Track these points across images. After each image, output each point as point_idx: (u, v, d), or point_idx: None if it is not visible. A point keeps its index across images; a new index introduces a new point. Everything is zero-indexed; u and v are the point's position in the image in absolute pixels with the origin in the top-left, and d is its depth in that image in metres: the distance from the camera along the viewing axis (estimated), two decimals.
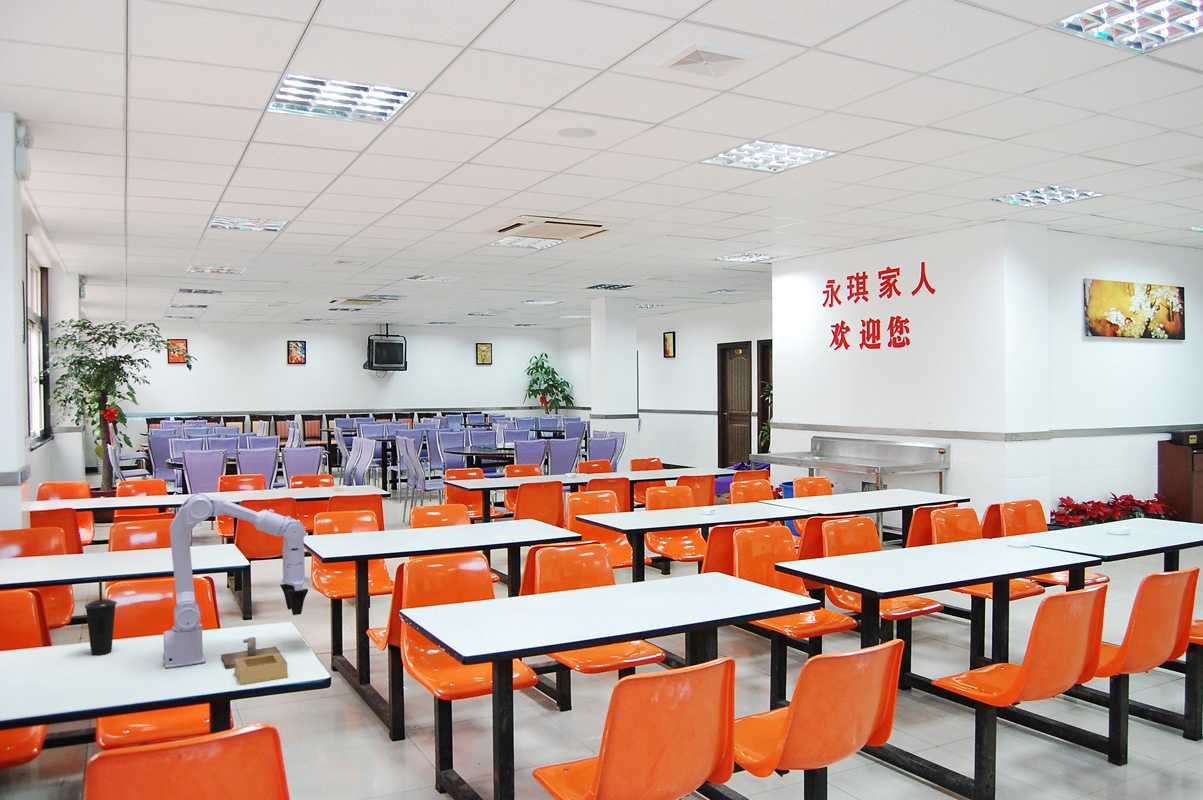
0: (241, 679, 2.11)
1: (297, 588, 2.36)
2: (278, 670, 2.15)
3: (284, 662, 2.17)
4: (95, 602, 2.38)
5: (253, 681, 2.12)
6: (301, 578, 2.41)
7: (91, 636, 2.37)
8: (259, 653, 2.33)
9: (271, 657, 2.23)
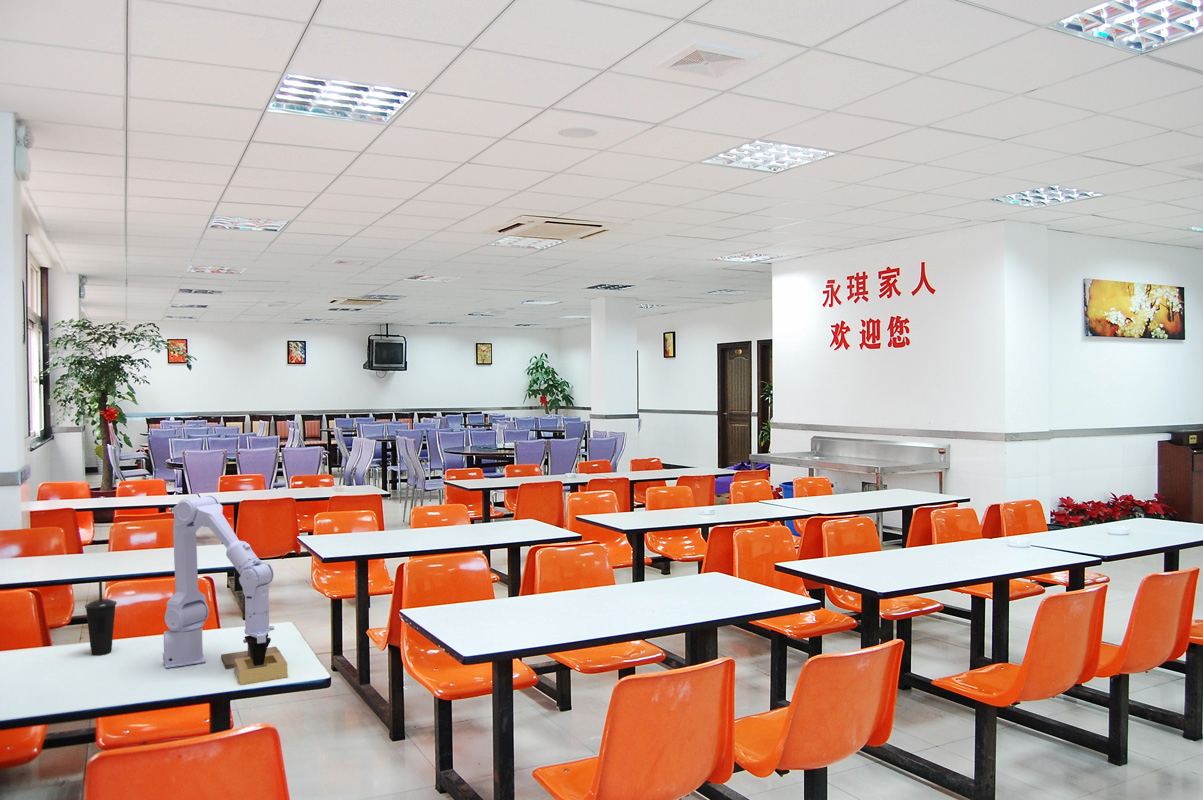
0: (241, 679, 2.11)
1: (260, 641, 2.16)
2: (278, 670, 2.15)
3: (284, 662, 2.17)
4: (95, 602, 2.38)
5: (253, 681, 2.12)
6: (265, 628, 2.21)
7: (91, 636, 2.37)
8: None
9: (271, 657, 2.23)
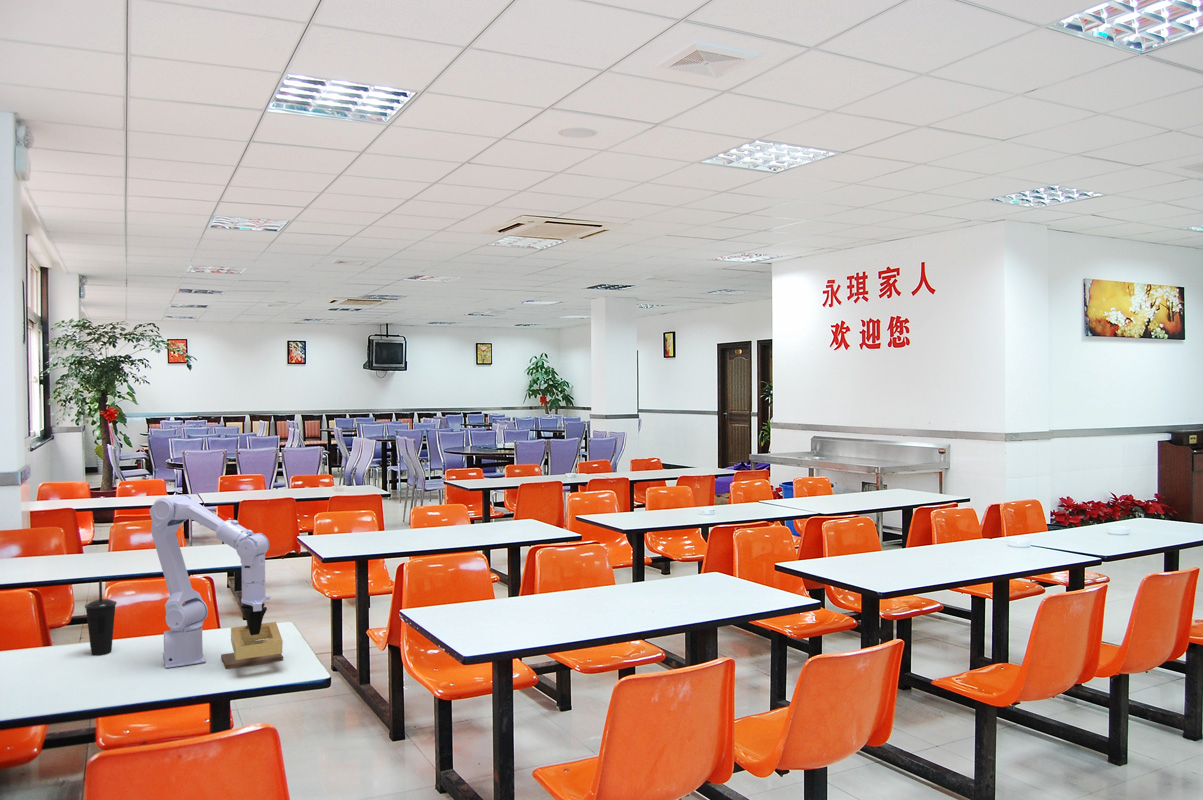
0: (237, 655, 2.16)
1: (256, 609, 2.20)
2: (273, 647, 2.20)
3: (279, 639, 2.21)
4: (95, 602, 2.38)
5: (248, 656, 2.17)
6: (261, 597, 2.25)
7: (91, 636, 2.37)
8: None
9: (267, 628, 2.27)
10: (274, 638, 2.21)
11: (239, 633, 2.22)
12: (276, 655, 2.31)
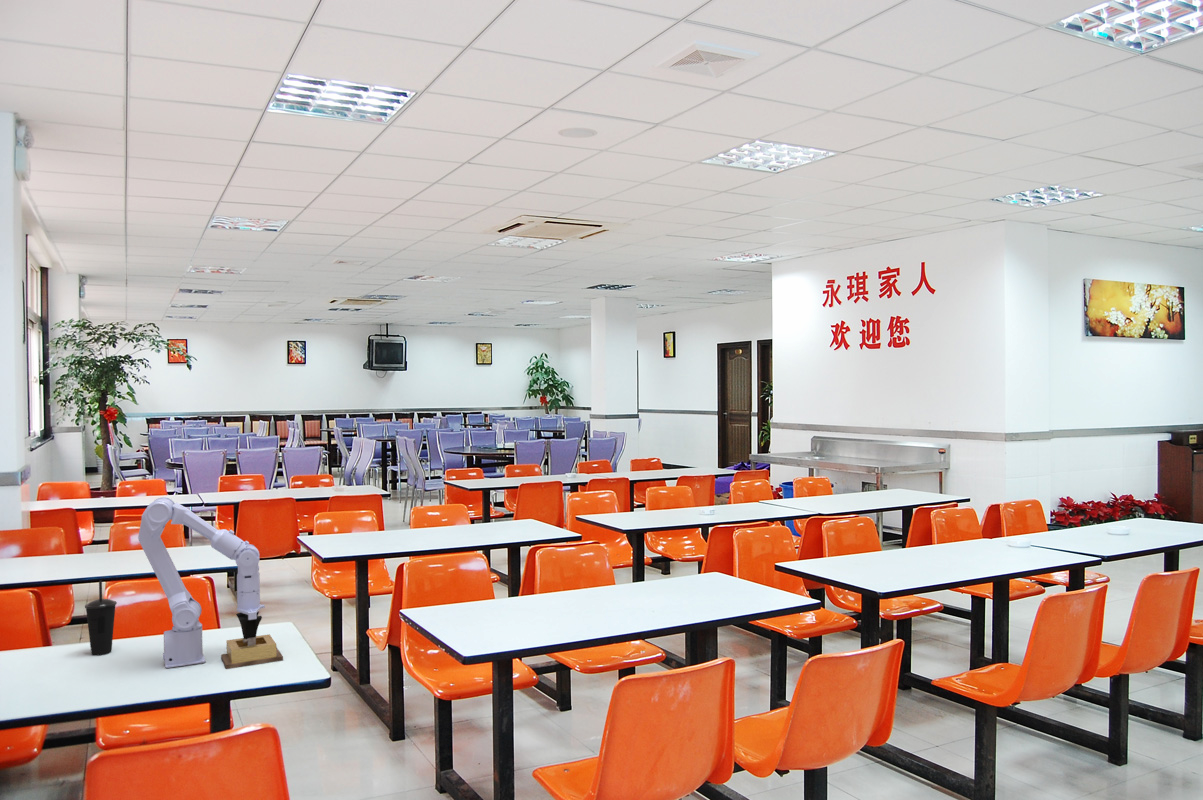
0: (232, 658, 2.25)
1: (251, 618, 2.29)
2: (267, 650, 2.29)
3: (273, 643, 2.31)
4: (95, 602, 2.38)
5: (244, 660, 2.26)
6: (256, 606, 2.34)
7: (91, 636, 2.37)
8: None
9: (261, 639, 2.37)
10: (268, 643, 2.31)
11: (234, 642, 2.31)
12: (276, 655, 2.31)
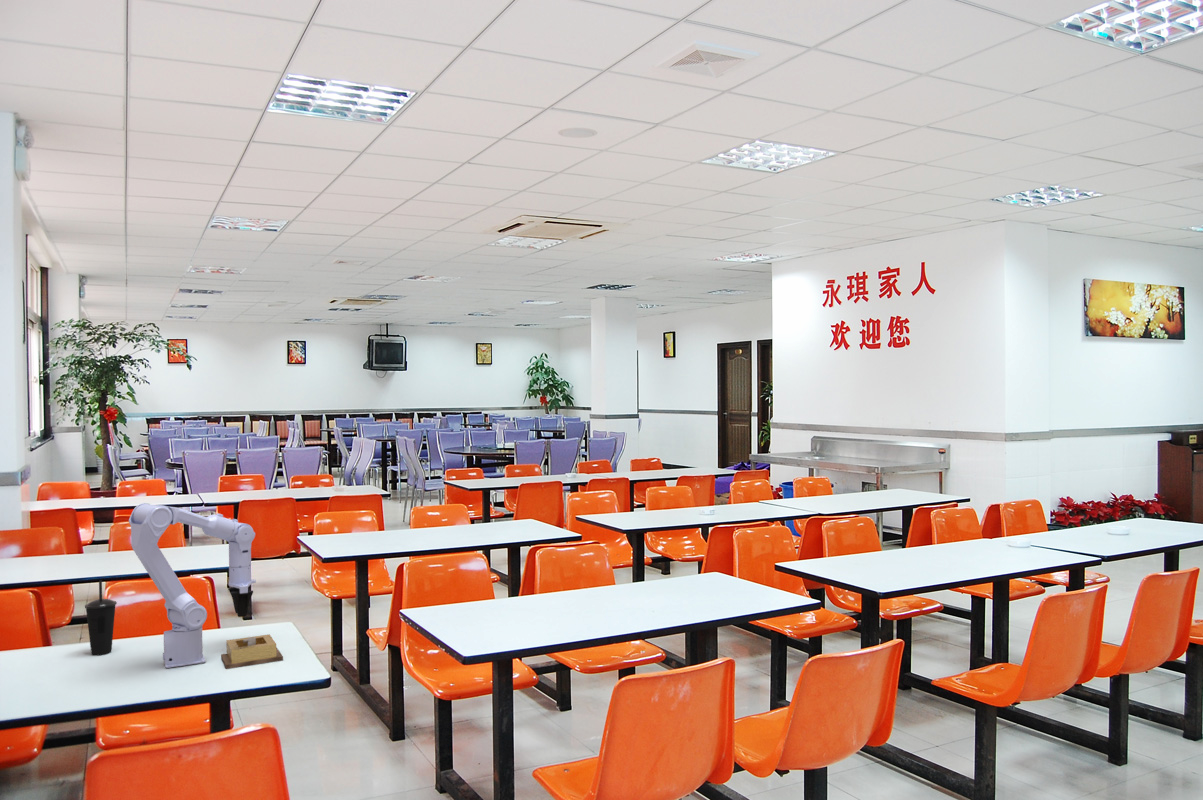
0: (232, 658, 2.25)
1: (242, 591, 2.36)
2: (267, 650, 2.29)
3: (273, 643, 2.31)
4: (95, 602, 2.38)
5: (244, 660, 2.26)
6: (247, 581, 2.41)
7: (91, 636, 2.37)
8: None
9: (261, 639, 2.37)
10: (268, 643, 2.31)
11: (234, 642, 2.31)
12: (276, 655, 2.31)
